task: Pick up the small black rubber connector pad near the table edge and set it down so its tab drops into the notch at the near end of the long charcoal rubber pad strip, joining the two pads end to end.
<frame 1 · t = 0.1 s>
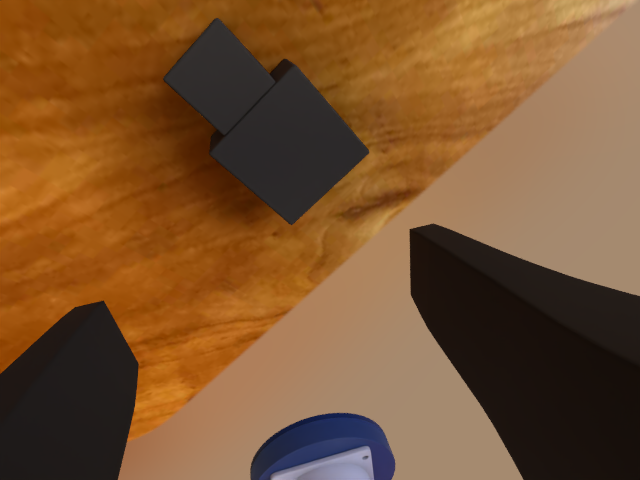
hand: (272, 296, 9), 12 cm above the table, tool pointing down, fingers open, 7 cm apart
connector pad: (284, 136, 19), on the table
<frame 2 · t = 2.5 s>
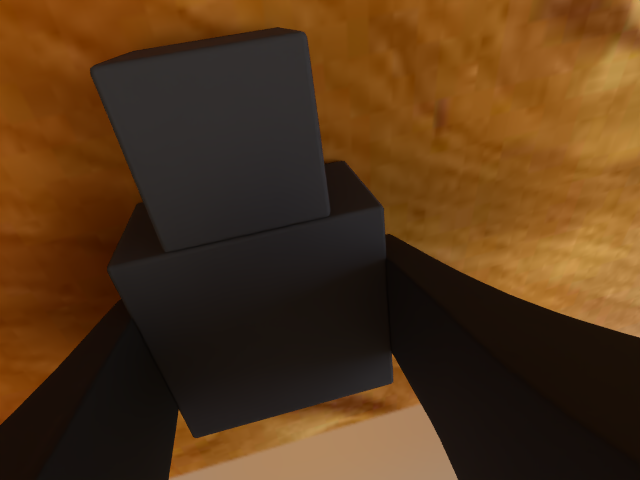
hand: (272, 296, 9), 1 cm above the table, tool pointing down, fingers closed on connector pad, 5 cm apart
connector pad: (265, 265, 10), on the table, touching gripper
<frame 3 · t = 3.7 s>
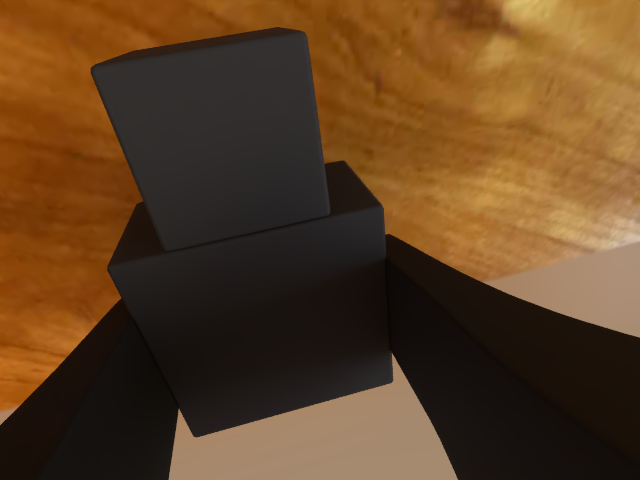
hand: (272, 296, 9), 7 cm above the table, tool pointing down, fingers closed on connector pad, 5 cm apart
connector pad: (265, 265, 10), point 6 cm above the table, touching gripper
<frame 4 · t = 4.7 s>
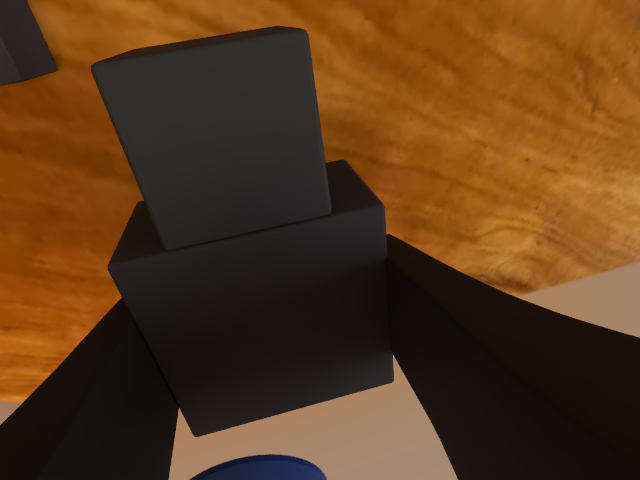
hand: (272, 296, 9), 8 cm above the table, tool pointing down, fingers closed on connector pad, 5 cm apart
connector pad: (265, 264, 10), point 7 cm above the table, touching gripper
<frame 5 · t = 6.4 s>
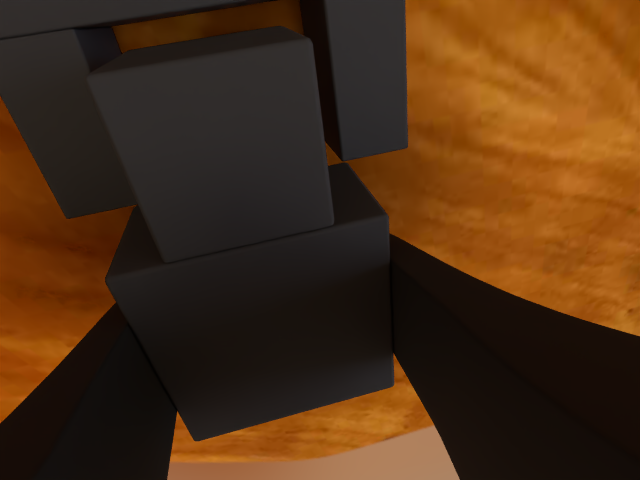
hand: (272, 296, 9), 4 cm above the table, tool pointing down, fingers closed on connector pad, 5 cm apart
connector pad: (265, 267, 10), point 3 cm above the table, touching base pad, gripper
when the fingers open (2 cm above the table, at t = 7.4 s): connector pad drops 2 cm, on the table.
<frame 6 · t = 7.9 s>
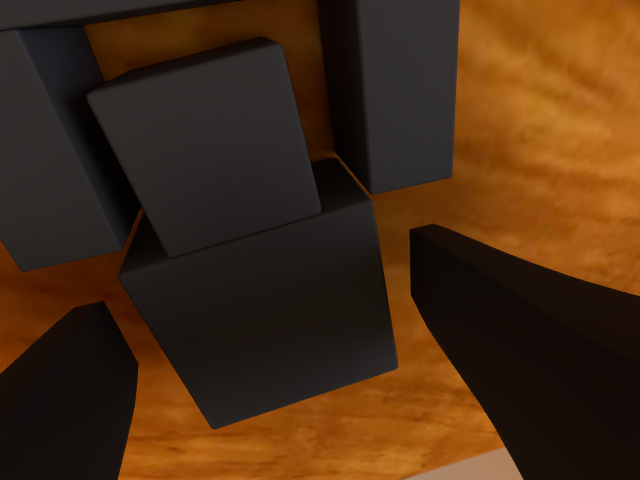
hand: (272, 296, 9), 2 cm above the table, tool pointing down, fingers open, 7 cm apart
connector pad: (269, 263, 11), on the table
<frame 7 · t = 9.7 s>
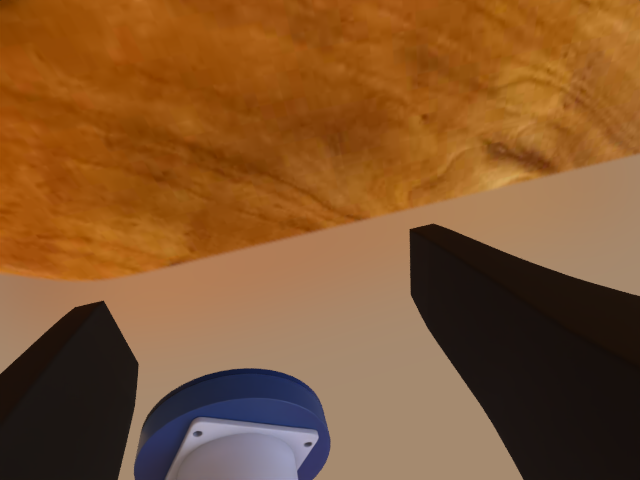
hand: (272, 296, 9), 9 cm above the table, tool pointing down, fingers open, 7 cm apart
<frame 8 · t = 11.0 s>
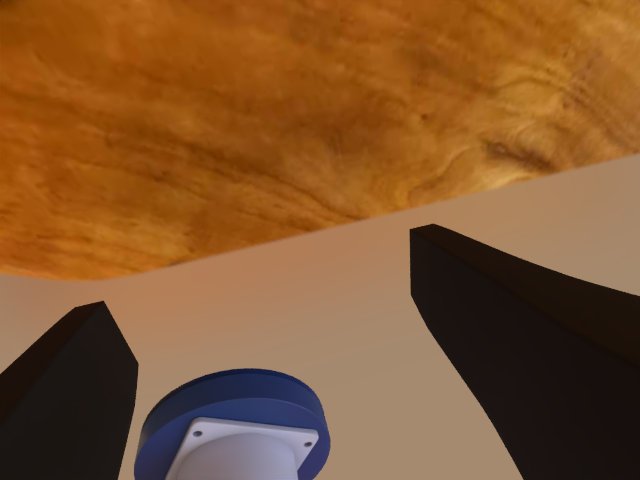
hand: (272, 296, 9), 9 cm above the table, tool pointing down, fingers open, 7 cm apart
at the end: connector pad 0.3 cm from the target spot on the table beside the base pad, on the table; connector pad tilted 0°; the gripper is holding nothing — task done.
